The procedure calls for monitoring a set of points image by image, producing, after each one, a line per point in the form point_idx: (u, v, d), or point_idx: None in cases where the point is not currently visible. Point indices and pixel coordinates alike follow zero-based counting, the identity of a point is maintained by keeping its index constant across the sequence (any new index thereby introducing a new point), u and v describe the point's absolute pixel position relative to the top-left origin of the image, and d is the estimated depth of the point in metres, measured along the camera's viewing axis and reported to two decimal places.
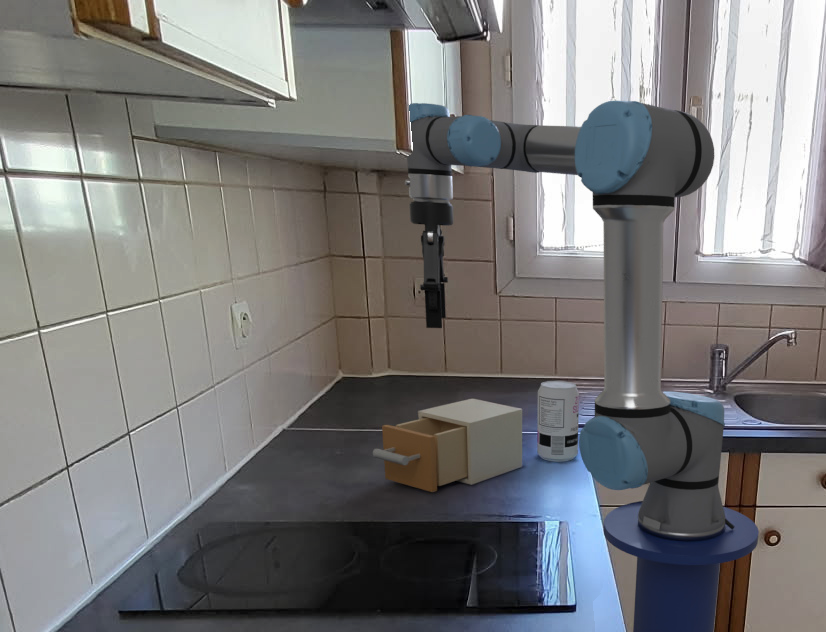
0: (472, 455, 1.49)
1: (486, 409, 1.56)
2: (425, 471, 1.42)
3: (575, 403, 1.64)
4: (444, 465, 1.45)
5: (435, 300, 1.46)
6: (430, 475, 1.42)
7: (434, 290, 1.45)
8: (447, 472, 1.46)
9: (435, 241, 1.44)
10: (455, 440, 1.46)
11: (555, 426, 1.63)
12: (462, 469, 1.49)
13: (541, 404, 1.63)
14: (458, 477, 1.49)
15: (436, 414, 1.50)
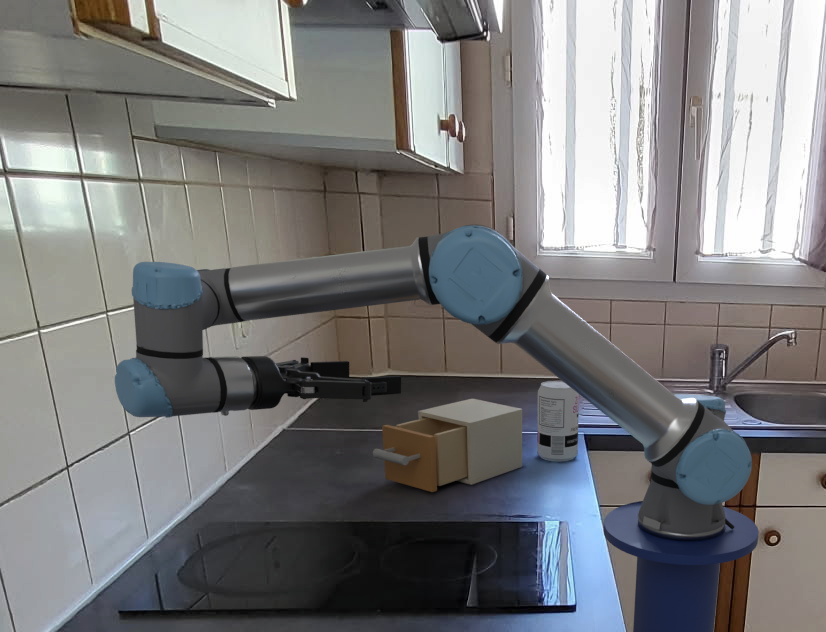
0: (472, 455, 1.49)
1: (486, 409, 1.56)
2: (425, 471, 1.42)
3: (575, 403, 1.64)
4: (444, 465, 1.45)
5: (378, 384, 1.25)
6: (430, 475, 1.42)
7: None
8: (447, 472, 1.46)
9: (313, 384, 1.18)
10: (455, 440, 1.46)
11: (555, 426, 1.63)
12: (462, 469, 1.49)
13: (541, 404, 1.63)
14: (458, 477, 1.49)
15: (436, 414, 1.50)
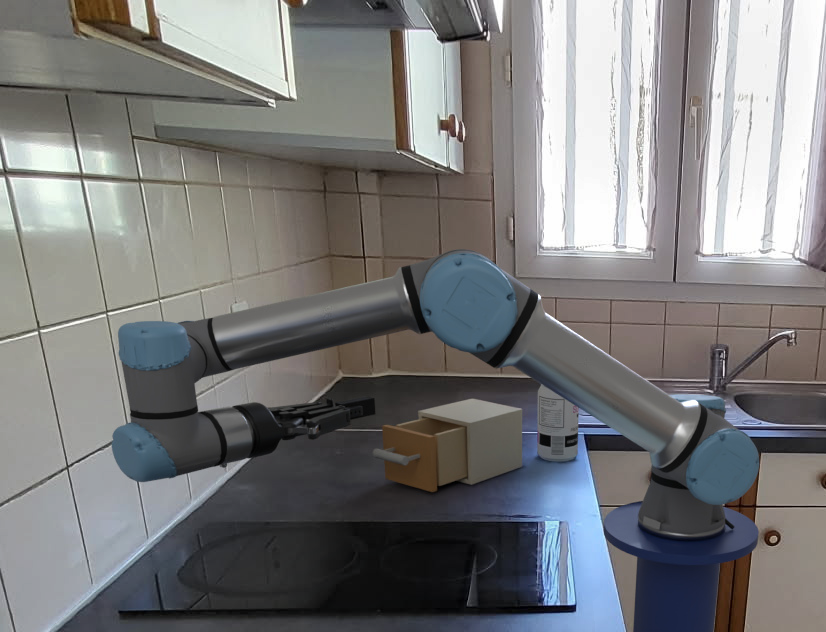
0: (472, 455, 1.49)
1: (486, 409, 1.56)
2: (425, 471, 1.42)
3: None
4: (444, 465, 1.45)
5: (355, 409, 1.29)
6: (430, 475, 1.42)
7: None
8: (447, 472, 1.46)
9: (318, 422, 1.19)
10: (455, 440, 1.46)
11: (555, 426, 1.63)
12: (462, 469, 1.49)
13: (541, 404, 1.63)
14: (458, 477, 1.49)
15: (436, 414, 1.50)
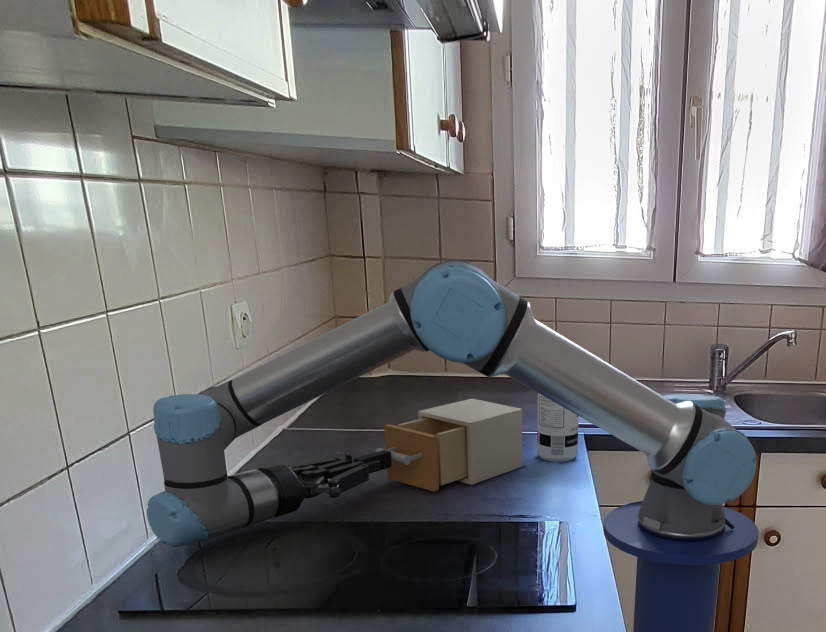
0: (472, 455, 1.49)
1: (486, 409, 1.56)
2: (427, 471, 1.43)
3: None
4: (446, 464, 1.45)
5: (373, 464, 1.35)
6: (432, 474, 1.42)
7: None
8: (448, 471, 1.46)
9: (339, 481, 1.25)
10: (457, 439, 1.46)
11: (555, 426, 1.63)
12: (464, 468, 1.50)
13: (541, 404, 1.63)
14: (460, 476, 1.49)
15: (436, 414, 1.50)
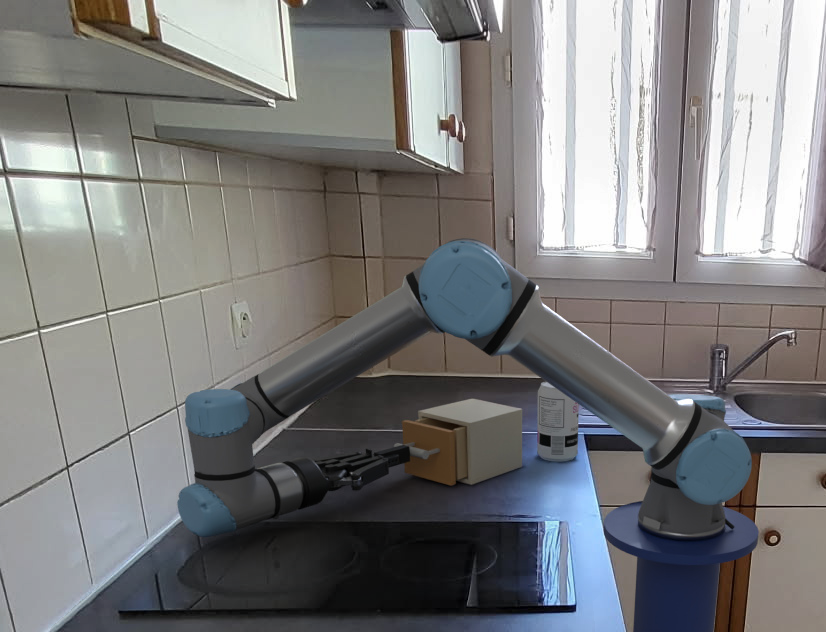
0: (472, 455, 1.49)
1: (486, 409, 1.56)
2: (444, 465, 1.46)
3: (575, 403, 1.64)
4: (462, 459, 1.49)
5: (392, 458, 1.38)
6: (449, 469, 1.46)
7: None
8: (465, 466, 1.50)
9: (361, 474, 1.28)
10: None
11: (555, 426, 1.63)
12: None
13: (541, 404, 1.63)
14: None
15: (436, 414, 1.50)
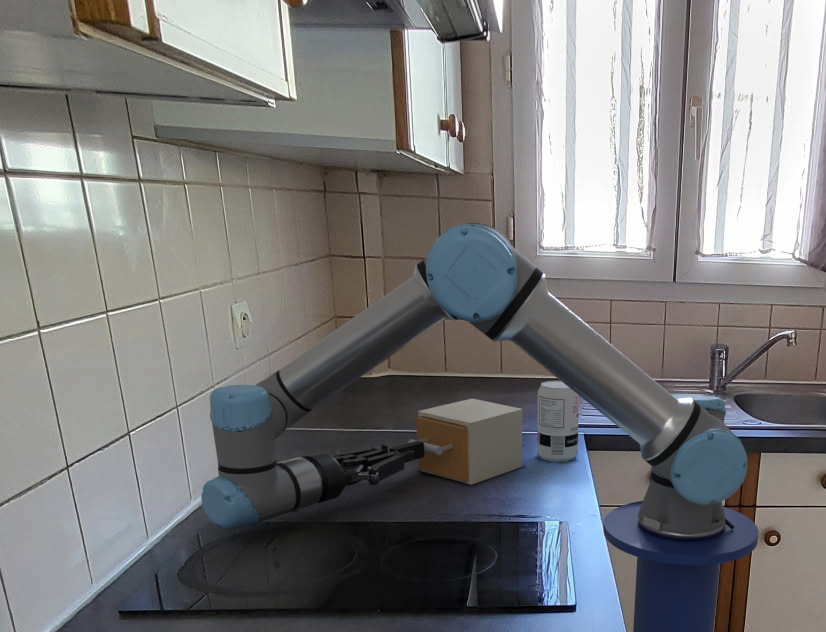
0: (472, 455, 1.49)
1: (486, 409, 1.56)
2: (457, 461, 1.49)
3: (575, 403, 1.64)
4: None
5: (407, 454, 1.41)
6: (462, 465, 1.48)
7: None
8: None
9: (378, 469, 1.31)
10: None
11: (555, 426, 1.63)
12: None
13: (541, 404, 1.63)
14: None
15: (436, 414, 1.50)
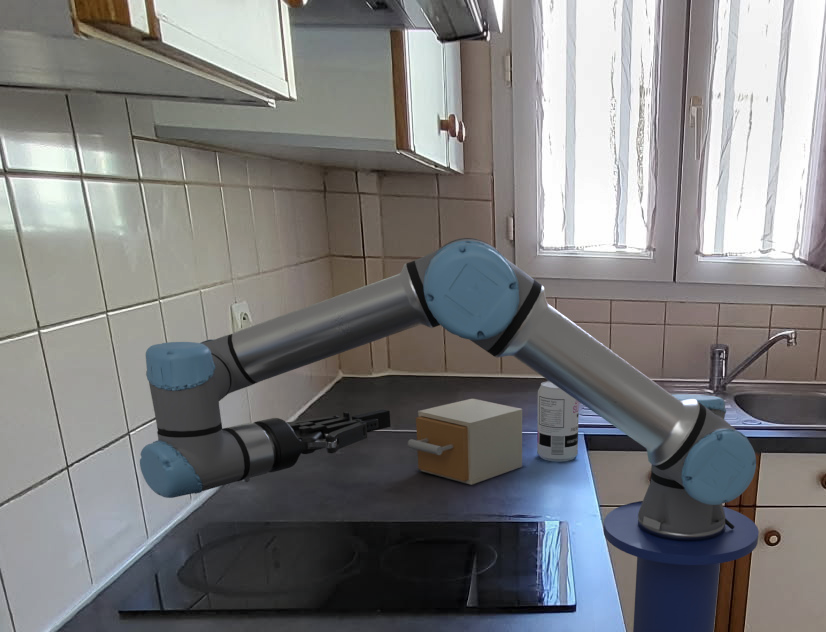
0: (472, 455, 1.49)
1: (486, 409, 1.56)
2: (457, 461, 1.49)
3: (575, 403, 1.64)
4: None
5: (371, 422, 1.33)
6: (462, 465, 1.48)
7: None
8: None
9: (336, 436, 1.23)
10: None
11: (555, 426, 1.63)
12: None
13: (541, 404, 1.63)
14: None
15: (436, 414, 1.50)
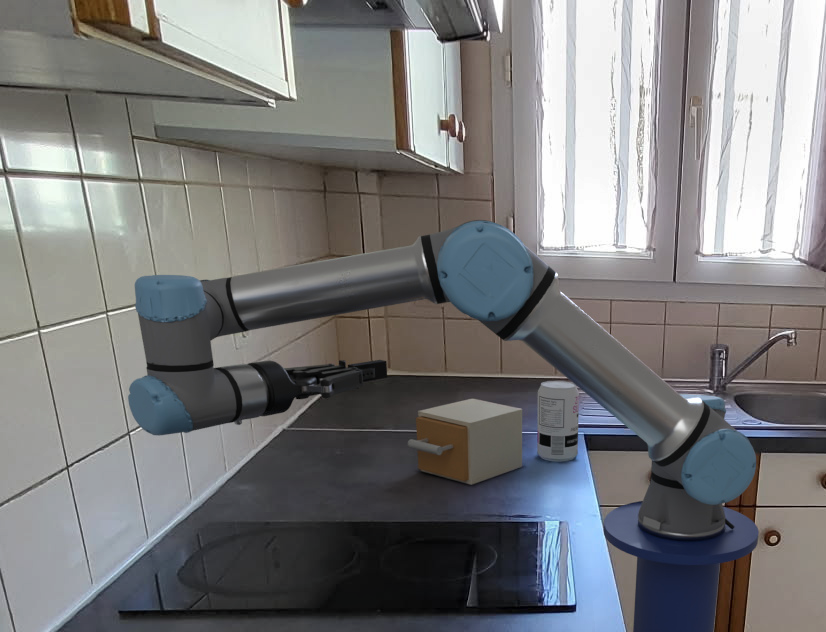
0: (472, 455, 1.49)
1: (486, 409, 1.56)
2: (457, 461, 1.49)
3: (575, 403, 1.64)
4: None
5: (367, 371, 1.30)
6: (462, 465, 1.48)
7: None
8: None
9: (331, 381, 1.20)
10: None
11: (555, 426, 1.63)
12: None
13: (541, 404, 1.63)
14: None
15: (436, 414, 1.50)
